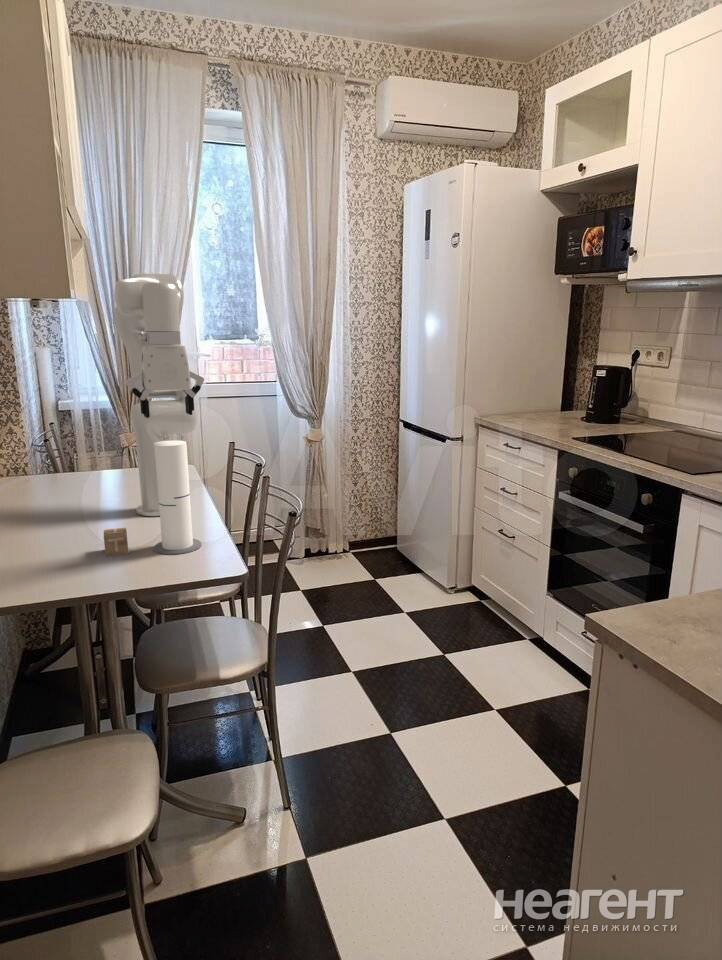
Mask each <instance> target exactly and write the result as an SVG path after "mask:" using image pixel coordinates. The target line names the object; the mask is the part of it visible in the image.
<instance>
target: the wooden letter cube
mask: <svg viewBox="0 0 722 960" xmlns="http://www.w3.org/2000/svg"><path fill="white" fill-rule="evenodd" d="M103 542H104V553H105V557H111V556H112V557H113V556H120V555H128V554H129V545H128V544H129V543H128V532H127V527H119V528H110V529H103Z"/></svg>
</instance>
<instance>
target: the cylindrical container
mask: <svg viewBox="0 0 722 960" xmlns="http://www.w3.org/2000/svg"><path fill="white" fill-rule="evenodd" d="M154 445H155V458H156V471H157V484H158V497H159V510H160V516H159V519H160V521H159V522H160V532H161V535H160V536H161V542H162V547H163V548H164V549H168V550H180V549H185V548H188V547H190V546H192V545H193V539H194V538H193V537H194V536H193V526H192V524H193V523H192V521H193V520H192V508H191V496H190V495H191V494H190V492H191V491H190V480H189V479H190V477H189V461H188V448H187V446H188V445H187V441H185V440H180V439H179V440H174V439H173V440H165V441H161V442H157V443H155V444H154Z"/></svg>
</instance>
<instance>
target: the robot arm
mask: <svg viewBox="0 0 722 960" xmlns="http://www.w3.org/2000/svg"><path fill="white" fill-rule="evenodd" d="M184 295H185V292H184V286H183V283H182V281H181V279H180V278H179V277H178V276H177V275H175V274H170V273H167V274H166V273H143V272H142V273H141V272H140V273H136V274H134V275H132V276H131V277H129V278H123V279H119V280H118V281H116V283H115V287H114V301H115V308H114V322H115V325H116V329H117V333H118V335H119V337H120V339H121V342H122V343H123V345H124V347H125V349H126V352H127V356H128V363H129V370H130V378H128V379H126V380H125V383H126V386H127V387H128V388H129V390H130V392H131V393H132V394H133V395H135V396H136V397H137V398H138V399H139V402H138V403H135V404H134V405H133V406H132V408H131V410H130V422H131V424H132V428H133V433H134V437H135V445H136V451H137V452H136V454H137V463H138V465H137V466H138V478H139V488H140V489H139V490H140V491H139V492H140V500H141V501H140V503H141V504H140V505H138V506H137V507H136V508H135V509H136V514H138V515H140V516H144V517H160V510H159V497H158V484H157V471H156V458H155V445H154V444H155V443H157V442H161V441H166V440H165V439H164V438H163V437H162V436H165V435H175V434H176V435H178V434H188V433H191V432H193V431H194V430H195V429H196V427H197V413H196V412H197V411H196V405H195V399H194V398H195V397H196V395H197V394H198V393H199V392H200V391H201V389H202V386H203V383H204V381H205V378H204V377H203V376H202V375H199V374H197V373H194V372H193V371H190V364H189V359H188V355H187V354H188V353H187V350H186V346H185V345H182V343H181V341H182V340H181V339H182V338H181V328H180V327H181V326H180V325H181V322H182V315H183V307H184V300H185V296H184ZM191 379H192V380H195V384H194V385H192V380H191ZM150 399H153V400H150ZM155 399H160V400H155ZM161 399H162V400H161ZM163 399H170V400H163Z"/></svg>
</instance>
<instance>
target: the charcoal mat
mask: <svg viewBox="0 0 722 960" xmlns="http://www.w3.org/2000/svg"><path fill="white" fill-rule="evenodd" d="M201 547H202V541H200V540H199V539H196V538H193V545H192V546H190V547H188V548H185V549H180V550H168V549H164V548H163V547H162V541H160V542H157V543H156V544H155V545H154V546H153V549H154V552H156V553H158V554H160V555H169V556H172V555H173V556H174V555H184V554H188V553H192V552H195V551H197V550H199V549H200V548H201Z"/></svg>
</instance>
